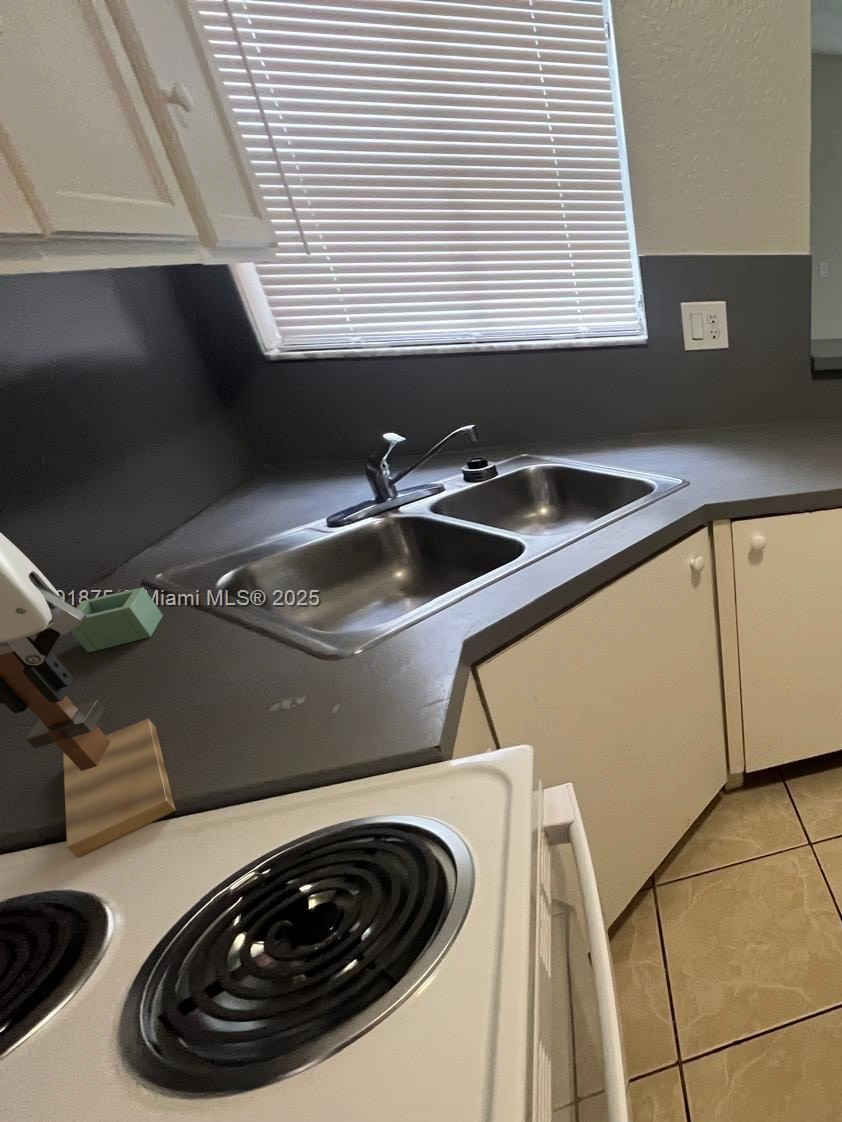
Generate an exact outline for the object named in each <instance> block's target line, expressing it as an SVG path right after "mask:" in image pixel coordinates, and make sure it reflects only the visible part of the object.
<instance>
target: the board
mask: <svg viewBox="0 0 842 1122" xmlns="http://www.w3.org/2000/svg"><path fill="white" fill-rule="evenodd" d="M105 736H106V737H107V738H108V739H109V741H110V744H109V746H108V748H107V749H106V751H105V753H104V755H103V757H102V759H101V760H100V762H99V764H98V766H97V767H93V768H90V769H87V770H84V771H81V770H80V769H79V768H78V767H77V766H76V765H75V764H74V763H73V761H72V760H71V759H70V758H69V757H68V756H67V755H66V754H65V753H64V752H63V751H62V752H63V753H62V755H63V757H62V758H63V759H62V760H63V780H64V781H63V783H64V805H65V807H64V808H65V832H66V848H67V849H68V850H69V851H70V852H71V853H72V855H74V856H75V857H76V858H80V857H82V856H84V855H86V854H89V853H90V852H93V851H95V850H97V849H99V848H101V847H103V846H105V845H107V844H110V843H112V842H114V841H116V840H118V839H120V838H122V837H124V836H126V835H128V834H130V833H132V832H134V831H136V830H138V829H141V828H144V827H145V826H147V825H149V824H151V823H154V822H156V821H158V820H160V819H162V818H164V817H166V816H168V815H170V814H172V813H175V812H176V806H175V803H174V802H175V801H174V798H173V793H172V789H171V785H170V781H169V777H168V772H167V769H166V765H165V760H164V756H163V752H162V747H161V743H160V740H159V735H158V731H157V727H156V726H155V725H154V723H153V722H152V721H151V720H150V718H146V719H143V720H141V721H138V722H136V723H133V724H131V725H128V726H126V727H123V728H121V729H118V730H116V731H113V732H111V733H107V734H106V735H105Z"/></svg>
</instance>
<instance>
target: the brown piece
mask: <svg viewBox="0 0 842 1122" xmlns="http://www.w3.org/2000/svg"><path fill="white" fill-rule="evenodd" d="M26 666H27V665H26V664H25V663H24V661H23V660H22V659H21V658H20V656H19V655H18V654H17V653H16V652H15V651H14V649H13V648H12V647H11V646H10V645H6V646H2V647H0V676H1V677H2V678H3V679H4V681H5V682H6V683H7V684H8V685H9V686H10V687H11V688H12V689H13V690H14V692H15V693H16V694H17V695H18V696H19V697H20V698H21V699H22V700H23V701H24V702H25V704H26V705H27V706H28V709H29V710H30V712H32V713H33V714H34V715H35V716H36V717H37V719H38V721H37V723H36V724H35V725H34V727H33V728H32V729H31V731H30V733H29V734H28V735H27V737H26V738H25V741H27V742H28V743H29V744H30V745H31V747H33V748H34V749H37V748H41V747H44V746H48V745H51V744H54V743H55V745H56V746H58V748H59V749H60V750H61V751H62V752H64V753H65V754H66V755H67V756H68V757H69V758H70V759H71V760H72V761H73V763H74V764H75V765H76V766H77V767H78V768H79V769H80V770H81V771H84V770H87V769H90V768H93V767H97V766H98V764H99V762H100V760H101V759H102V757H103V755H104V753H105V751H106V749H107V748H108V746H109V744H110V741H109V739H108V738H107V737H106V735H105V734H104V732H103V731H102V730H101V729H100V728H99V726H97V723H98V721H99V720H100V718H101V716H102V715H103V713H104V711H105V710H106V708H105V707H104V705H103V704H102V703H101V702H100V700H99V699H95V700H91V701H87V702H84V703H80V704H77V705H75V704H74V703H73V701H71V700H70V698H69V697H68V696H67V695H66V696H65V698H64V699H63V700H62V701H59V702H55V703H53V702H49V701H48V700H47V699H46V698H45V697H44V696H43V694H42V693H41V692H40V691H39V690H38V689H37V688H36V687H35V686H34V684H33V683H32V682H31V681H30V680H29V679H28V678H27V677H26V675H25V674H24V673H23V669H24V668H25V667H26Z"/></svg>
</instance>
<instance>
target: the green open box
mask: <svg viewBox="0 0 842 1122" xmlns="http://www.w3.org/2000/svg"><path fill="white" fill-rule="evenodd" d="M75 608H76V609H78V610H79V611H81V612H83V613H84V614H85V615H86V619H85V620H84V622H83V623H82V624H81V625H80V626H79V627H77V628H76V629H74V630H72V631H71V632H70V633H71V634H72V635H73V636H74V638H76V640H77V641H78V642H79V643H80V645H81V646H82V648H84V650H85V651H86V652H87V653H89V654H90V653H93V652H97V651H101V650H105V649H109V648H113V647H116V646H121V645H124V644H128V643H132V642H137V641H141V640H143V639H149V638H152V636H153V634H154V632H155V631H156V629H157V627H158V626H159V623H161V620H162V618H163V616H164V615H163V613H162V612H161V610H160V608H159V607H158V606H157V605H156V603H155V601H154V600H153V599H152V598H151V596H150V595H149V593H148V592H147V590H146V589H145V587H144V586H142V587H138V588H133V589H128V590H124V592H120V593H116V592H115V593H112V594H107V595H102V596H98V597H93V598H91V599H85V600H81V602H80V603H79V604H78V605H77V606H76V607H75Z"/></svg>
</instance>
